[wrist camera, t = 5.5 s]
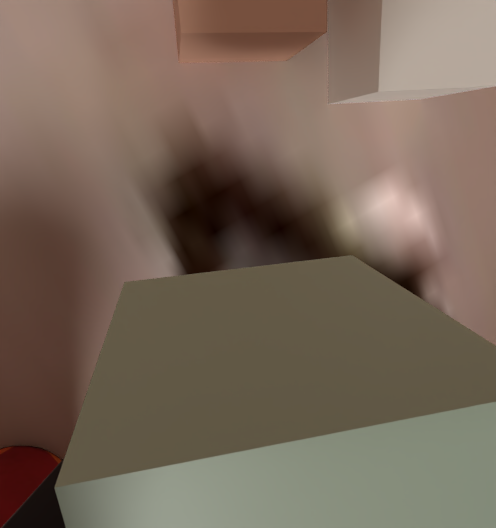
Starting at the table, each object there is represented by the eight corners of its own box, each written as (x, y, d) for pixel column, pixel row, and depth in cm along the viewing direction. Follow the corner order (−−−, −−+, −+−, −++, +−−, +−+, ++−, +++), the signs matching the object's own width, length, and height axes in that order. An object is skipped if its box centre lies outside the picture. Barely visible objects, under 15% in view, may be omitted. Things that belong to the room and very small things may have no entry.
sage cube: (352, 255, 9) (563, 388, 4) (346, 433, 10) (494, 680, 6) (124, 281, 8) (54, 486, 3) (157, 470, 9) (142, 794, 5)
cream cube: (427, -15, 18) (517, -70, 13) (419, 99, 20) (496, 86, 15) (327, -15, 17) (385, -74, 13) (327, 104, 19) (378, 91, 14)
